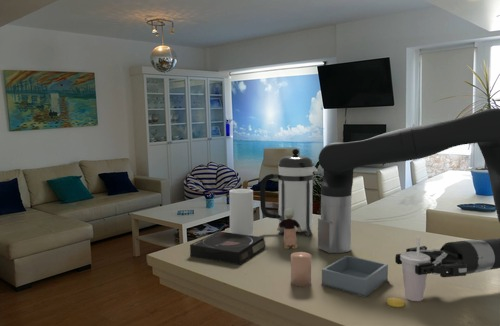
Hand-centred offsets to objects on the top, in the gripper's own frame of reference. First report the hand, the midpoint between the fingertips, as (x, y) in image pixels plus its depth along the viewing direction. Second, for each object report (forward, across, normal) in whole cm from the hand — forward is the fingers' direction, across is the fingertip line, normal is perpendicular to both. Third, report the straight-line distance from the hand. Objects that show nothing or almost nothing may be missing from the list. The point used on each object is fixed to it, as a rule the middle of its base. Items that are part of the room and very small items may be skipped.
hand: (406, 264), depth 93 cm
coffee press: (+3, -60, +8) cm, 61 cm away
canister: (+18, -16, +8) cm, 26 cm away
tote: (+6, -12, +8) cm, 15 cm away
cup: (+21, -61, +8) cm, 65 cm away
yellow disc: (+4, +1, +8) cm, 9 cm away
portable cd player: (+30, -44, +9) cm, 54 cm away
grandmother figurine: (+11, -44, +8) cm, 46 cm away
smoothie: (-2, 0, +8) cm, 9 cm away
